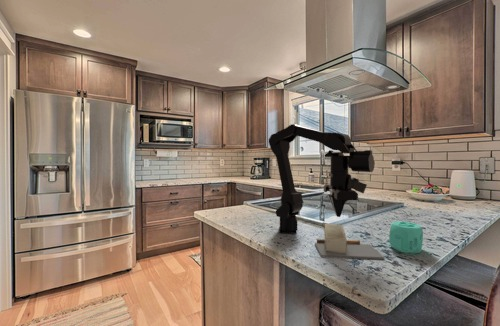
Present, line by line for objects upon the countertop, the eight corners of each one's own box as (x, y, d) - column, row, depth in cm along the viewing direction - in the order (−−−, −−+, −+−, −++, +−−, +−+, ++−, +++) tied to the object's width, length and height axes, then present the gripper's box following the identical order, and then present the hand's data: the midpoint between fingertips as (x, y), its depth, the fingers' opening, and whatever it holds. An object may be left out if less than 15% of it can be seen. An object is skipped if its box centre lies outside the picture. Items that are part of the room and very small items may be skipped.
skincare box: (324, 234, 85) (324, 251, 74) (324, 223, 85) (324, 237, 73) (343, 237, 83) (346, 254, 72) (344, 225, 83) (347, 240, 71)
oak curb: (317, 244, 81) (317, 239, 81) (316, 243, 82) (316, 238, 82) (359, 245, 80) (360, 241, 80) (358, 244, 81) (358, 239, 81)
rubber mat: (321, 257, 71) (321, 255, 71) (314, 244, 81) (314, 242, 81) (384, 259, 69) (384, 257, 69) (369, 246, 79) (369, 244, 79)
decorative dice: (388, 249, 77) (389, 224, 77) (394, 242, 83) (395, 219, 83) (418, 256, 72) (419, 230, 72) (422, 248, 78) (423, 224, 78)
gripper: (376, 172, 71) (375, 225, 71) (353, 169, 89) (353, 210, 90) (338, 172, 71) (337, 224, 72) (323, 169, 90) (322, 210, 90)
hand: (338, 216), depth 81 cm, fingers closed
